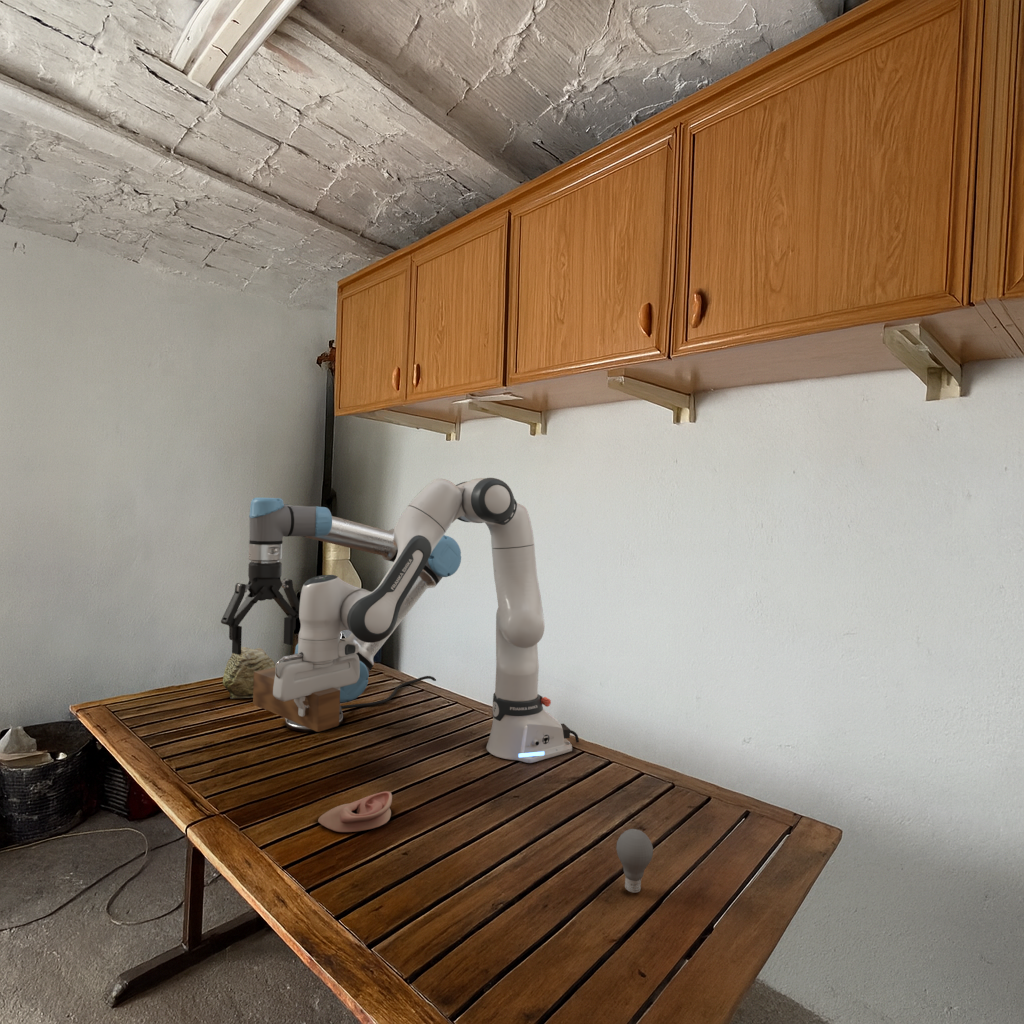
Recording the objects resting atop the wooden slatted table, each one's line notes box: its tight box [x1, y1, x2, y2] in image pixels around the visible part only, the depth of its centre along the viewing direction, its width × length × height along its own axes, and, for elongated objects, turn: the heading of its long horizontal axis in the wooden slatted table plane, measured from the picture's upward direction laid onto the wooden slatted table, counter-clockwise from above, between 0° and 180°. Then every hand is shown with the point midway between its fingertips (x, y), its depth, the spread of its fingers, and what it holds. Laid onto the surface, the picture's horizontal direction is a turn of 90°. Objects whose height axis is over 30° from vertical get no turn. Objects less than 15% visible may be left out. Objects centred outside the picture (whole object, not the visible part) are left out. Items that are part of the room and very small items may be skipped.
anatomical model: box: [317, 791, 393, 833], centre depth 125 cm, size 13×4×12 cm
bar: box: [252, 667, 341, 733], centre depth 145 cm, size 26×6×8 cm, turn 52°
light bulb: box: [615, 828, 654, 894], centre depth 106 cm, size 6×6×10 cm
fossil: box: [222, 646, 276, 699], centre depth 198 cm, size 9×18×15 cm, turn 132°
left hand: (263, 648), depth 154 cm, fingers open, 13 cm apart
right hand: (317, 711), depth 140 cm, fingers closed on bar, 5 cm apart
